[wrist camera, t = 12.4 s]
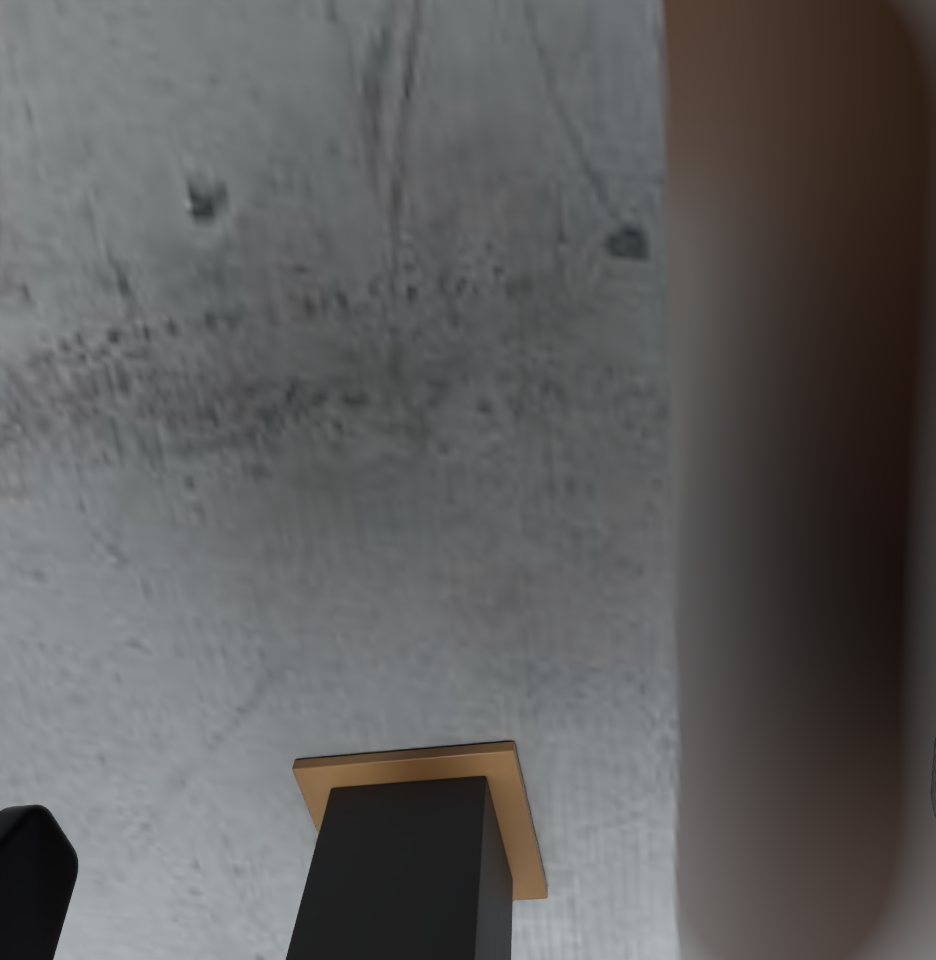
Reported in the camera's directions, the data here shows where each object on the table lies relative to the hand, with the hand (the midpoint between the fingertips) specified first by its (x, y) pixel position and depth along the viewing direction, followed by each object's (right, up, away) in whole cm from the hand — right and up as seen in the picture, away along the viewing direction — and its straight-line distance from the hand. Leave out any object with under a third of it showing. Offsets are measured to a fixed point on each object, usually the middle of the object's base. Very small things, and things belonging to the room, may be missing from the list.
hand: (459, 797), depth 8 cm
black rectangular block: (-1, -8, +19) cm, 21 cm away
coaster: (-1, -8, +19) cm, 21 cm away
